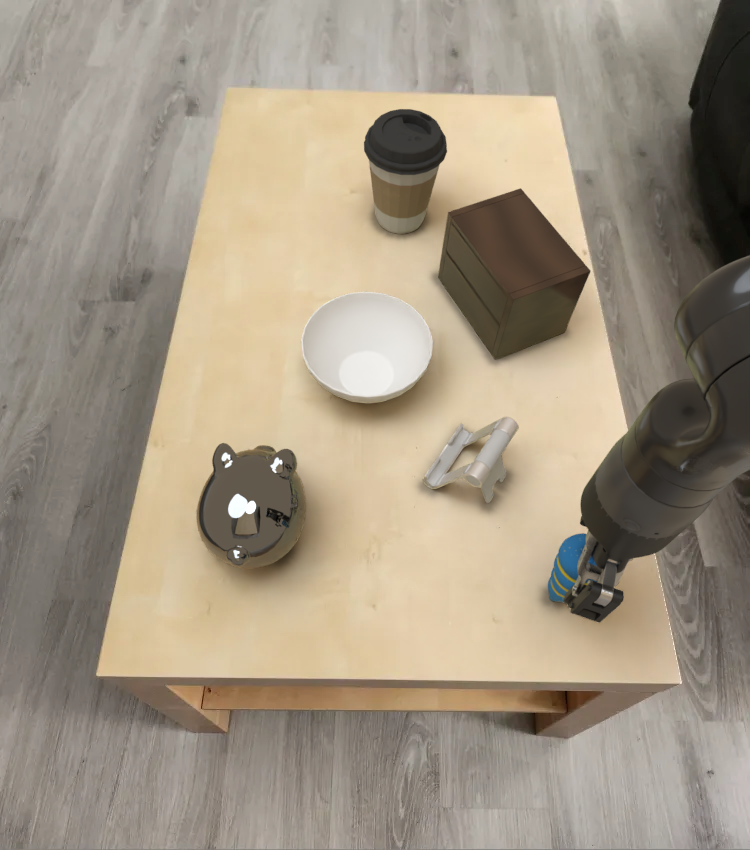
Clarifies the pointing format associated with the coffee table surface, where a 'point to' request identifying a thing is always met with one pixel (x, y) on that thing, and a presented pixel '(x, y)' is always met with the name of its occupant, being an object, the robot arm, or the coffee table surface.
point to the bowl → (366, 346)
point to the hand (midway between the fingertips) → (582, 562)
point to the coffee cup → (403, 166)
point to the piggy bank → (251, 506)
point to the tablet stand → (484, 466)
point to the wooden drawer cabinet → (510, 272)
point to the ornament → (566, 567)
